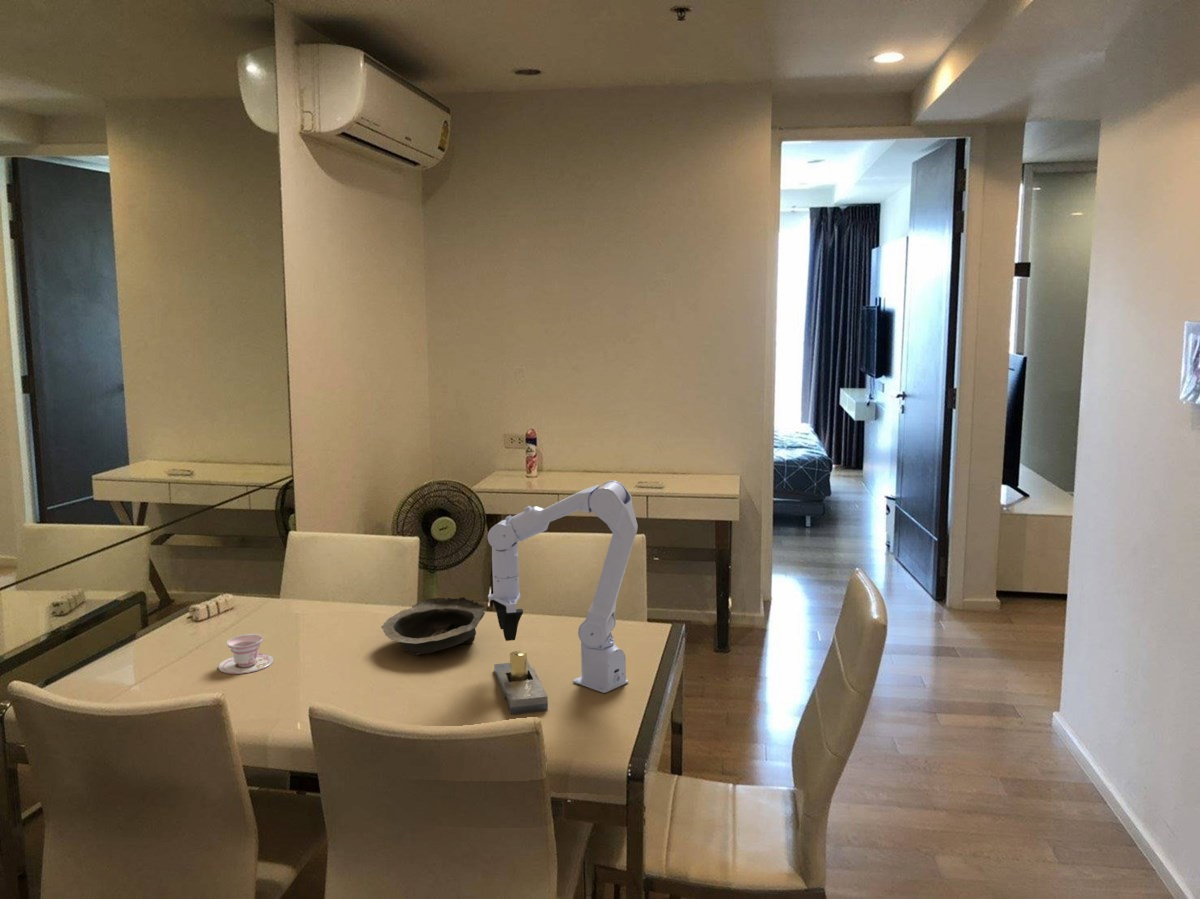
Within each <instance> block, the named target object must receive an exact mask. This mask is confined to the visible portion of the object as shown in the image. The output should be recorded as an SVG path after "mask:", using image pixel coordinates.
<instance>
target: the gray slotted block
mask: <svg viewBox="0 0 1200 899" xmlns="http://www.w3.org/2000/svg"><path fill="white" fill-rule="evenodd" d="M493 666H494V670H493V672H494V673H495V675H496V680H497V681H498V684H499V686H500V690H501V692H502V695H503V698H504V700H507V702H508V704H507V706H508V708H507V709H508V711H509V714H510V715H511V716H513V715H521V714H527V713H528V714H529V713H536V712H537V713H538V712H546V711H549V708H548V707H549V706H548V703H549V702H548V694H547V692H546V691H545V688H544V686H543V684H542V682H541V680H540V678H539V676H538V674H537V672H536V669H535V668H534V667H533V666H532V667H531V665H530V663H529V661H528V660H527V673H528V680H524V681H515V682H511V669H510V662H506V663H505V662H504V663H496V664H495V663H494V665H493Z"/></svg>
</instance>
